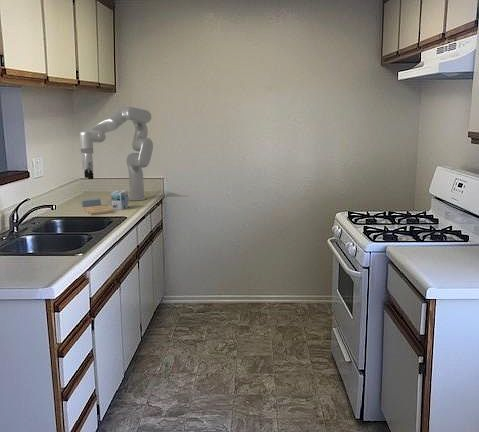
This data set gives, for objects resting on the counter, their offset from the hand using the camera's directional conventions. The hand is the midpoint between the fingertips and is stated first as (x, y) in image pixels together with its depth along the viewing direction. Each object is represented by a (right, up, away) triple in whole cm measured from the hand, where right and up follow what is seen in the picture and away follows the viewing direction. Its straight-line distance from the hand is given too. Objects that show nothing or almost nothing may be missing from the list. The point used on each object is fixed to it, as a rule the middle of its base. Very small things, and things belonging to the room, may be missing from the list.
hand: (89, 178), depth 350 cm
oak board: (+9, -21, -13) cm, 26 cm away
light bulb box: (+21, -19, -5) cm, 29 cm away
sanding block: (0, -18, +4) cm, 19 cm away
